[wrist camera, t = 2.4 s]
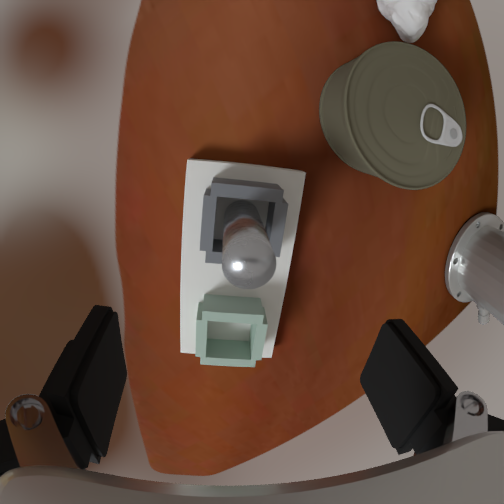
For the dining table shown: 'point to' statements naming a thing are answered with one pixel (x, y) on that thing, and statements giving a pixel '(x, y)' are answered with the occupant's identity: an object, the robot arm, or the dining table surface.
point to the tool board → (210, 260)
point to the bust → (407, 16)
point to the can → (395, 115)
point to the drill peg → (246, 247)
